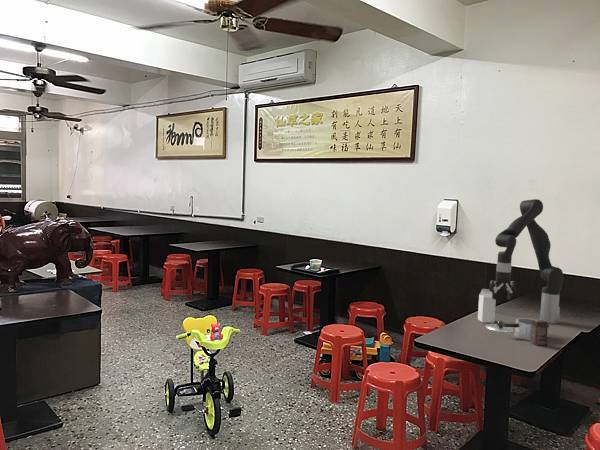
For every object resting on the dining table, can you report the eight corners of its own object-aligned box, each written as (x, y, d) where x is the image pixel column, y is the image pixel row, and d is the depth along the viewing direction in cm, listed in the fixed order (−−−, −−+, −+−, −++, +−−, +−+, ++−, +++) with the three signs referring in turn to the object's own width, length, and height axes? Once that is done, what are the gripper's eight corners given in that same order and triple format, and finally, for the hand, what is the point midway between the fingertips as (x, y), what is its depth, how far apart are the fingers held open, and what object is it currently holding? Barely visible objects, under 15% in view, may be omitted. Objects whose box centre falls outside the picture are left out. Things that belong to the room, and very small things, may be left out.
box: (541, 342, 234) (543, 319, 233) (546, 345, 230) (548, 322, 229) (530, 342, 234) (531, 319, 233) (535, 345, 229) (537, 321, 228)
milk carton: (494, 323, 268) (496, 290, 267) (481, 322, 268) (484, 290, 267) (489, 319, 275) (491, 288, 274) (477, 319, 275) (479, 287, 274)
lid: (505, 325, 266) (505, 317, 266) (520, 333, 251) (520, 325, 251) (480, 324, 265) (481, 317, 264) (493, 333, 250) (494, 325, 249)
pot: (538, 332, 252) (539, 318, 251) (554, 341, 238) (556, 326, 237) (495, 332, 249) (496, 318, 249) (509, 341, 235) (510, 325, 235)
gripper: (512, 269, 260) (510, 298, 261) (487, 269, 259) (486, 297, 260) (519, 272, 253) (517, 301, 254) (494, 271, 251) (492, 300, 252)
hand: (501, 299), depth 257 cm, fingers open, 8 cm apart
